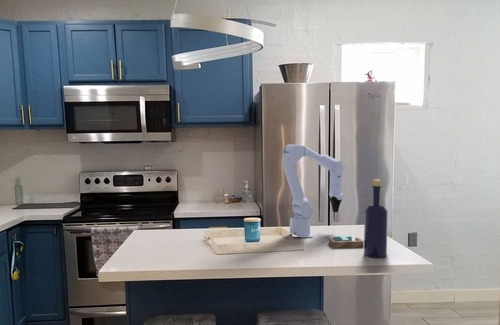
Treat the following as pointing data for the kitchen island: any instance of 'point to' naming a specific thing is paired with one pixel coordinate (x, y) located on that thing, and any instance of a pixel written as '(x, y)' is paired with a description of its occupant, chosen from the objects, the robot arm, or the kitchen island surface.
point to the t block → (342, 238)
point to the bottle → (376, 226)
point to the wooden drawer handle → (346, 243)
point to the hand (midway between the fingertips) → (335, 212)
